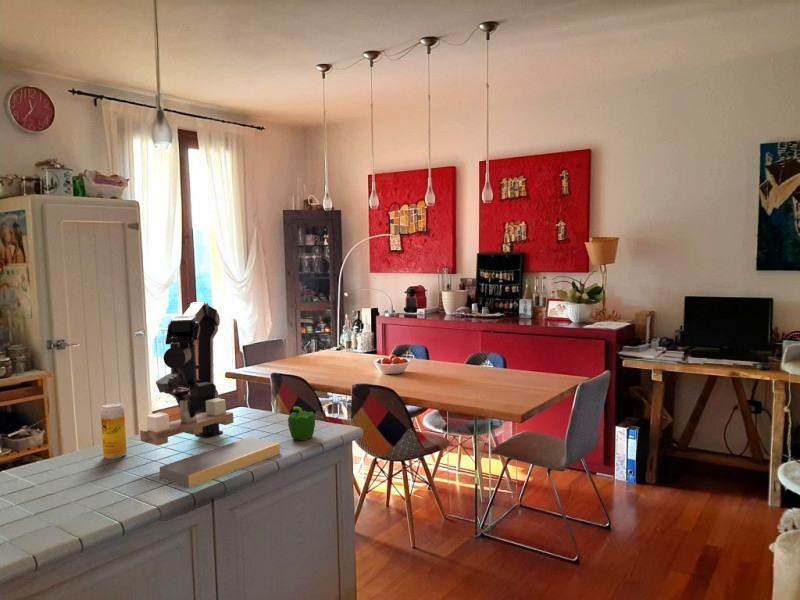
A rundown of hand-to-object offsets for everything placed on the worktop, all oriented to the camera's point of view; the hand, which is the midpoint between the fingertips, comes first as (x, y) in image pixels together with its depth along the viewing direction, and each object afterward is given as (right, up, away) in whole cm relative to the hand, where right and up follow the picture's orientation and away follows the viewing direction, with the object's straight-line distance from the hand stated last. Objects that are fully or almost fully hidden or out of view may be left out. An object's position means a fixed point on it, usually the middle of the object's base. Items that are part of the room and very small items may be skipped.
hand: (188, 416), depth 171 cm
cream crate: (-5, -2, -8) cm, 10 cm away
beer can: (-22, -12, +3) cm, 26 cm away
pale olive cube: (+5, -1, +8) cm, 10 cm away
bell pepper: (+30, -10, +15) cm, 35 cm away
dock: (+12, -12, -7) cm, 18 cm away
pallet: (0, -4, 0) cm, 4 cm away
